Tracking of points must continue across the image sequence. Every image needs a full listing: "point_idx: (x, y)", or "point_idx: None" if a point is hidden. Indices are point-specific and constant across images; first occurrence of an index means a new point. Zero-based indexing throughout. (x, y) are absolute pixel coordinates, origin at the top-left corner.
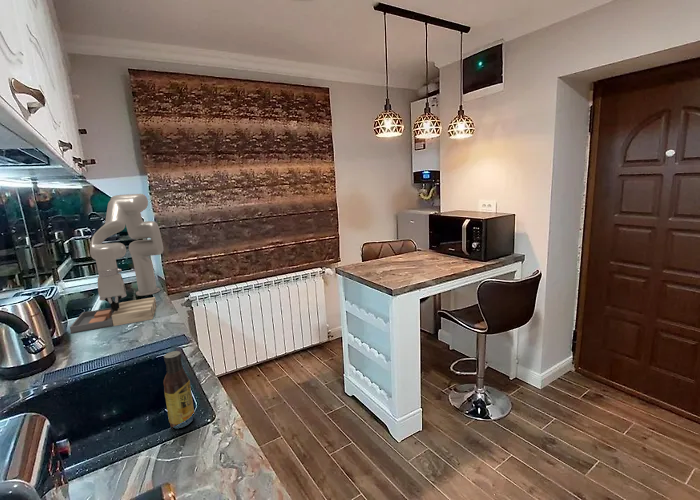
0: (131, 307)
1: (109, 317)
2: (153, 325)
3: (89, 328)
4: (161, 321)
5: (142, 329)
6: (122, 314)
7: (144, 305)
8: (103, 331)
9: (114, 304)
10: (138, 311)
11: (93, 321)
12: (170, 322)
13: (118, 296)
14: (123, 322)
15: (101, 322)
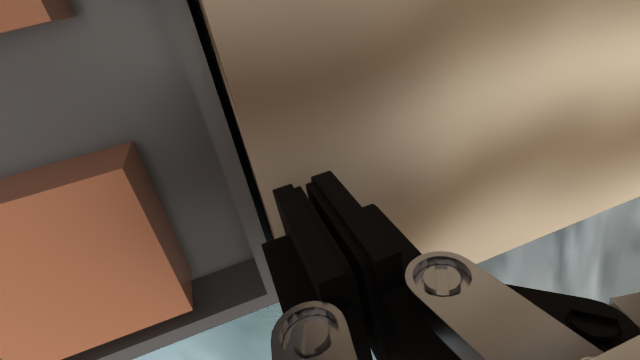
0: (471, 57)
1: (71, 17)
2: (554, 266)
3: None
4: None
5: None
6: None
7: (620, 19)
8: (243, 345)
9: (376, 349)
10: (552, 229)
11: (51, 331)
12: (635, 233)
13: (557, 354)
14: None
15: (186, 333)
